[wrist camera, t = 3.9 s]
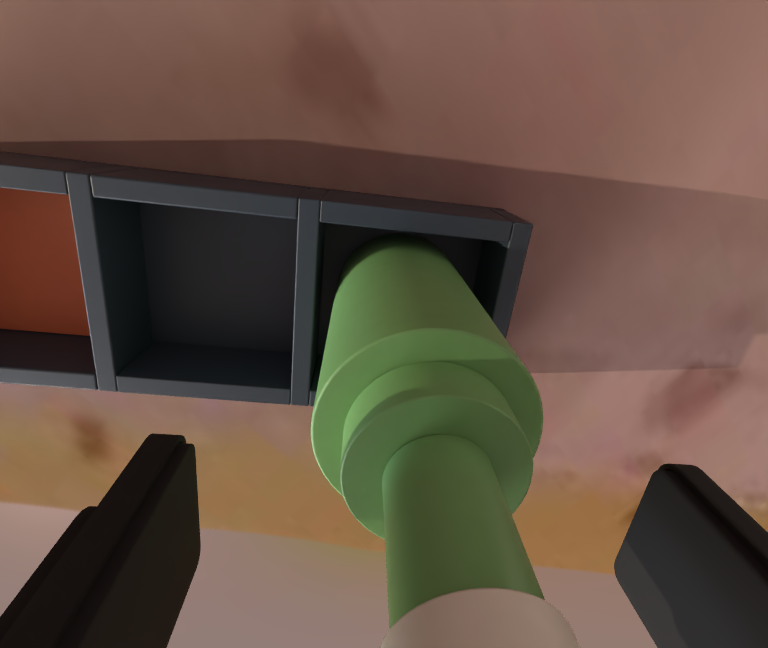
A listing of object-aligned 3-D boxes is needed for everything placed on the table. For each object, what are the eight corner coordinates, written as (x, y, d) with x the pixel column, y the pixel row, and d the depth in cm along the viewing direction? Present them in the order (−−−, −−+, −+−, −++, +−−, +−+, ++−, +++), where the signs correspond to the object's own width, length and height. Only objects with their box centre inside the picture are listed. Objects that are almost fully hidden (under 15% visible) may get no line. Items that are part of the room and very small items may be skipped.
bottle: (467, 240, 20) (849, 605, 4) (446, 352, 22) (646, 870, 6) (341, 226, 20) (246, 580, 4) (332, 343, 22) (248, 876, 6)
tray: (503, 208, 20) (534, 223, 16) (467, 376, 23) (486, 419, 20) (-79, 142, 18) (-192, 142, 14) (-28, 335, 21) (-109, 375, 18)
